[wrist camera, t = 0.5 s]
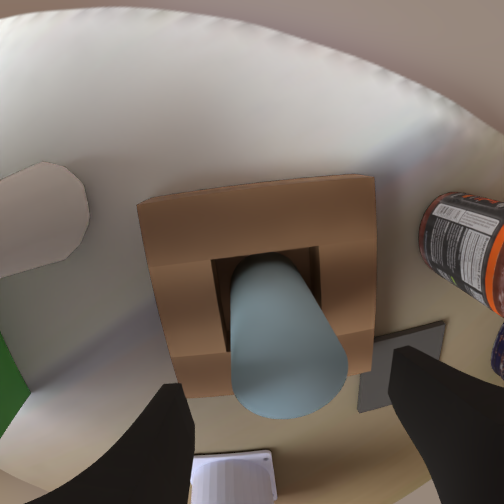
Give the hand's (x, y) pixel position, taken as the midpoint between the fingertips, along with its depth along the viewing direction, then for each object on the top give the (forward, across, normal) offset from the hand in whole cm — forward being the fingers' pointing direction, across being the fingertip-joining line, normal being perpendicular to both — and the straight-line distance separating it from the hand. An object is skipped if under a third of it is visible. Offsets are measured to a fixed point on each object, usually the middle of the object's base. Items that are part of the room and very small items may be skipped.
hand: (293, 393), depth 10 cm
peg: (+10, 0, 0) cm, 10 cm away
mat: (+10, -10, +9) cm, 17 cm away
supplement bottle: (+11, -13, -2) cm, 17 cm away
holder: (+10, 0, 0) cm, 10 cm away
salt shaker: (+11, +12, -6) cm, 17 cm away
